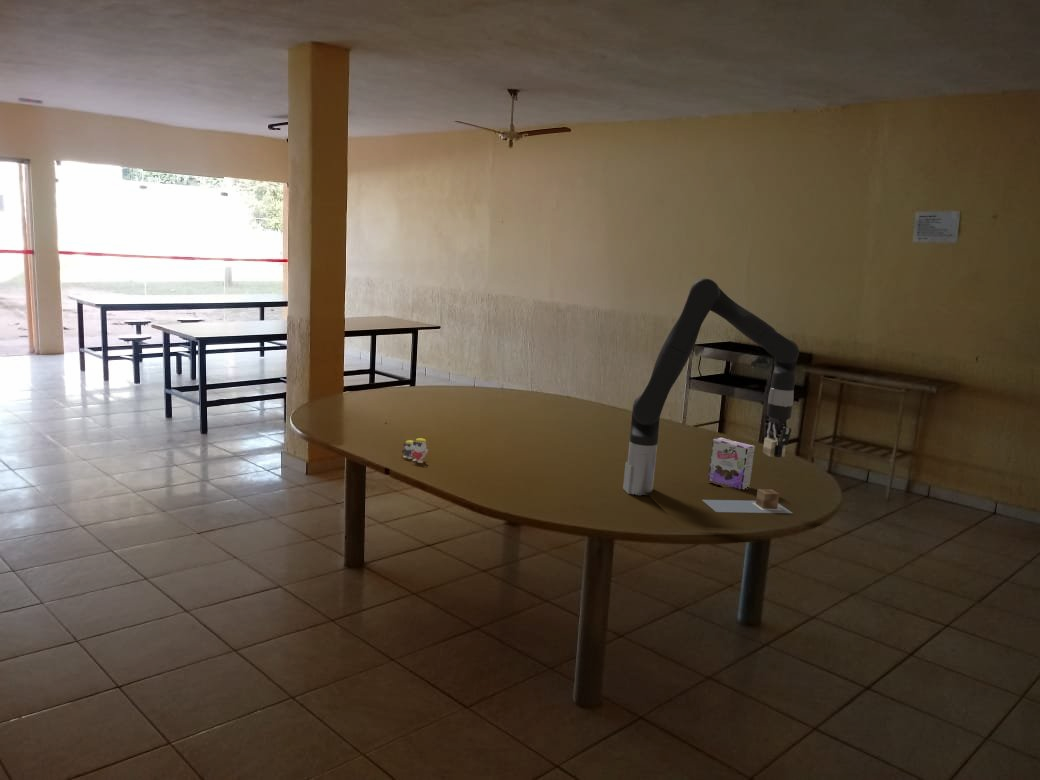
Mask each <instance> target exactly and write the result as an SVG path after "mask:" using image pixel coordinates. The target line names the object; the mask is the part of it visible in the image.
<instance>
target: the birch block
mask: <svg viewBox="0 0 1040 780" xmlns="http://www.w3.org/2000/svg"><path fill="white" fill-rule="evenodd" d="M779 439H780V438H779ZM763 440H764V441H763V446H762V447H763V448H762V453H763V454H765V456H768V457H772V458H776V457H775V456H774V453H775V445H776V440H775V438H766V437H764V439H763ZM786 447H787V445H784V446H783V448H782V456H781V457H780V458H785V456H786Z"/></svg>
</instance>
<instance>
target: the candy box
mask: <svg viewBox="0 0 1040 780" xmlns="http://www.w3.org/2000/svg"><path fill="white" fill-rule="evenodd" d="M711 447H712V448H711V455H710V462H709V470H708V480H710V481H713V482H717V483H721V484H725V485H728V486H732V487H735V488H734V489H737V488H738V490H740V489H743V490H746V489H748V488H747V487H749V488H750V485H751V477H752V473H753V470H752V469H753V465H754V464H753V462H754V456H755V455H754V454H755V449H756V446H755V445H753V444H747V443H745V442H739V441H735V440H731V439H728V438H724V437H718V438H713V440H712V446H711ZM708 480H707V481H708ZM745 488H746V489H745Z"/></svg>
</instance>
